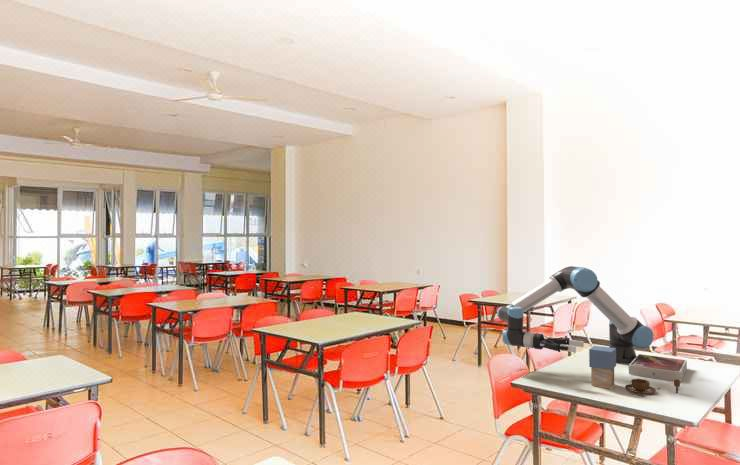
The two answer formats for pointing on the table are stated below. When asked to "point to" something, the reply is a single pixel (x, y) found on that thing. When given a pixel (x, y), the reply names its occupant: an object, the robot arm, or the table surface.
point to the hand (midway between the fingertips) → (579, 346)
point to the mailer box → (602, 377)
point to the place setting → (645, 387)
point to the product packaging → (658, 367)
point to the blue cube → (602, 357)
